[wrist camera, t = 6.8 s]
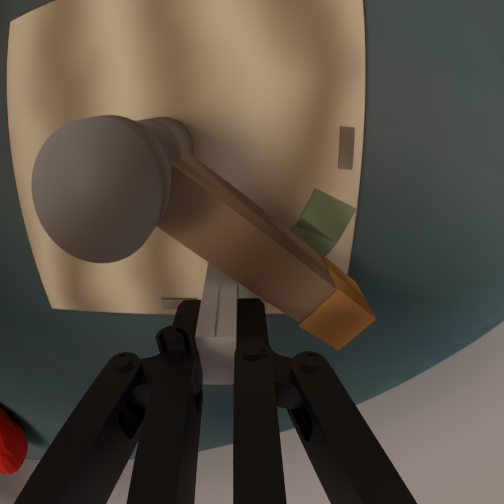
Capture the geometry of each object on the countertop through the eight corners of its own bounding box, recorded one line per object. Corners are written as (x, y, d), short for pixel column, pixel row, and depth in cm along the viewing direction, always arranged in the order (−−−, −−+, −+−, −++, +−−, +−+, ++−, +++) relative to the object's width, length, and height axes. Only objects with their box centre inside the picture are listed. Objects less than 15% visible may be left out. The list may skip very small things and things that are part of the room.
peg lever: (109, 160, 15) (16, 212, 8) (152, 94, 14) (69, 90, 6) (309, 303, 20) (338, 408, 12) (357, 257, 18) (415, 351, 11)
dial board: (58, 299, 21) (50, 309, 20) (20, 23, 11) (8, 21, 10) (336, 300, 22) (341, 312, 20) (353, -19, 12) (361, -27, 11)
